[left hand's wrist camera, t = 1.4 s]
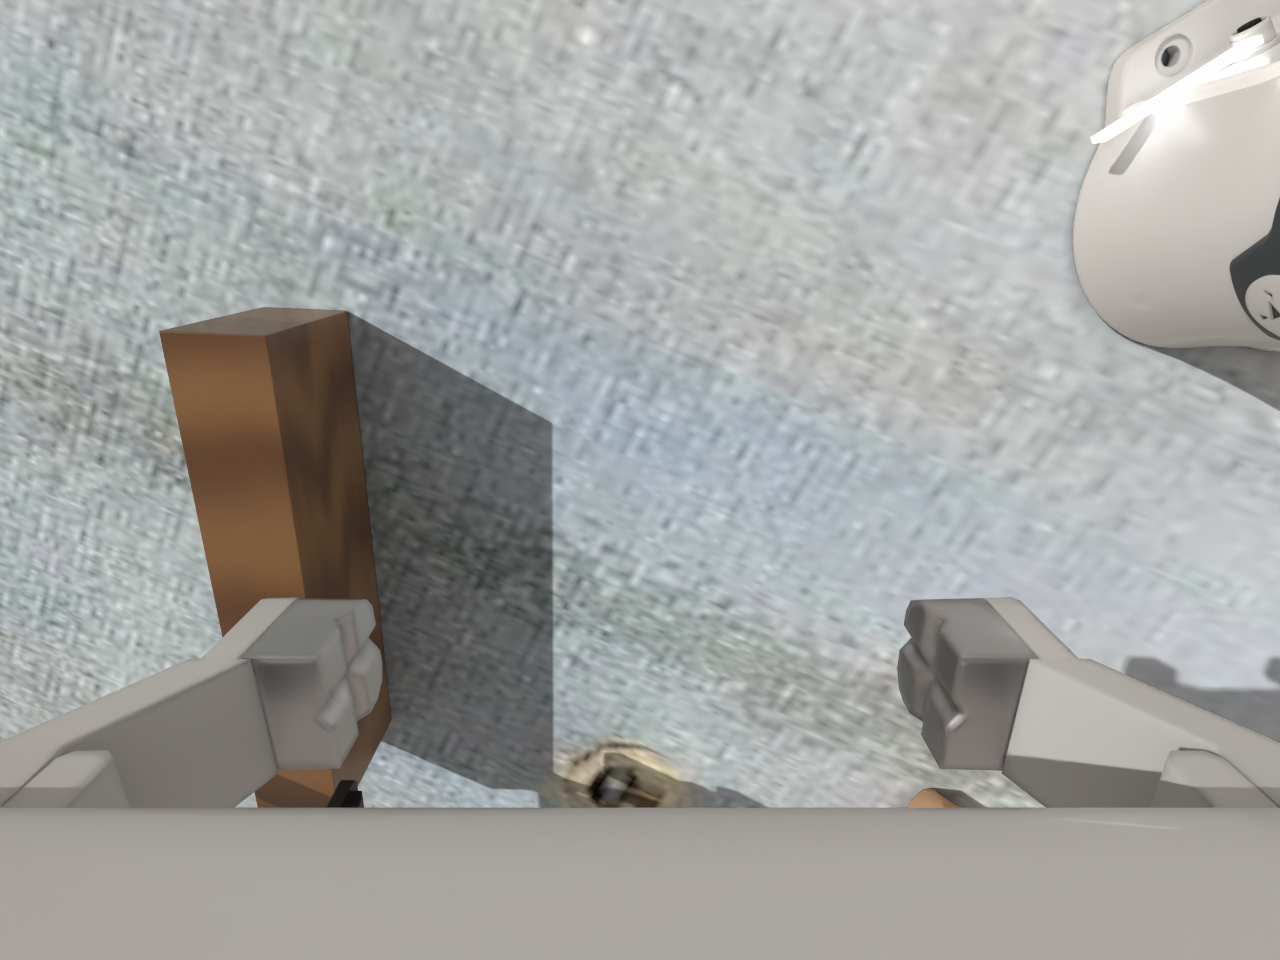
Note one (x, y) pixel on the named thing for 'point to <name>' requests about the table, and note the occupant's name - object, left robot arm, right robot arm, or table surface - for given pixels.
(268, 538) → the bar
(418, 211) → the table surface
